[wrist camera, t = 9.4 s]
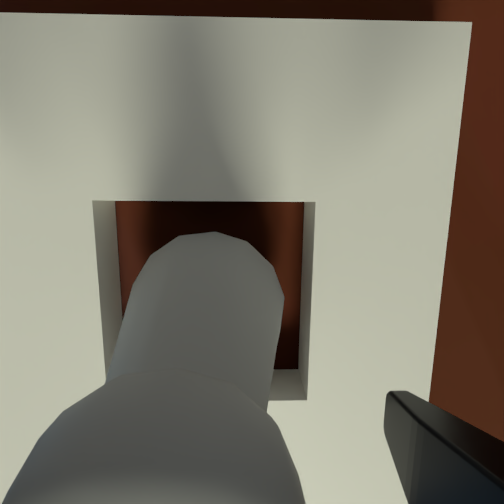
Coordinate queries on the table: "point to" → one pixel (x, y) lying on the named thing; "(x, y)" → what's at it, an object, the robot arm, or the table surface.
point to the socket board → (232, 189)
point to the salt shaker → (178, 393)
